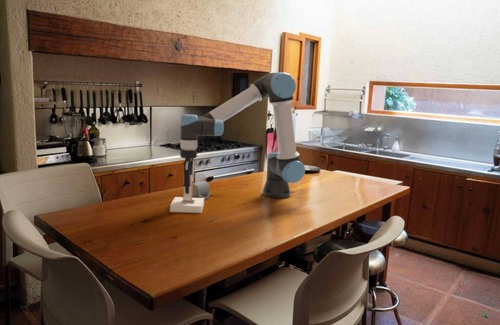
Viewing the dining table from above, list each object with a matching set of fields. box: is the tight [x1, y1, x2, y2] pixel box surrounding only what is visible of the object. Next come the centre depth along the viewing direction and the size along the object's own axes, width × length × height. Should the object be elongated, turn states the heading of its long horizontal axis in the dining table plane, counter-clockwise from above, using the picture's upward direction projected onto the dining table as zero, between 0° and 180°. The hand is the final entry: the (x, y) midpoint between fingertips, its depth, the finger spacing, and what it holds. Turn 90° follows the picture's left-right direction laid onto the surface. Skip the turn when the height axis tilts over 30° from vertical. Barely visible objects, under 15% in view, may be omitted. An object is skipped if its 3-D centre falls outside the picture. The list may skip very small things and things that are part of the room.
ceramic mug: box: [192, 180, 211, 200], centre depth 210 cm, size 11×8×8 cm
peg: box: [182, 174, 193, 202], centre depth 189 cm, size 4×4×12 cm
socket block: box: [169, 196, 205, 214], centre depth 191 cm, size 14×14×3 cm
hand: (187, 198), depth 190 cm, fingers closed on peg, 4 cm apart
